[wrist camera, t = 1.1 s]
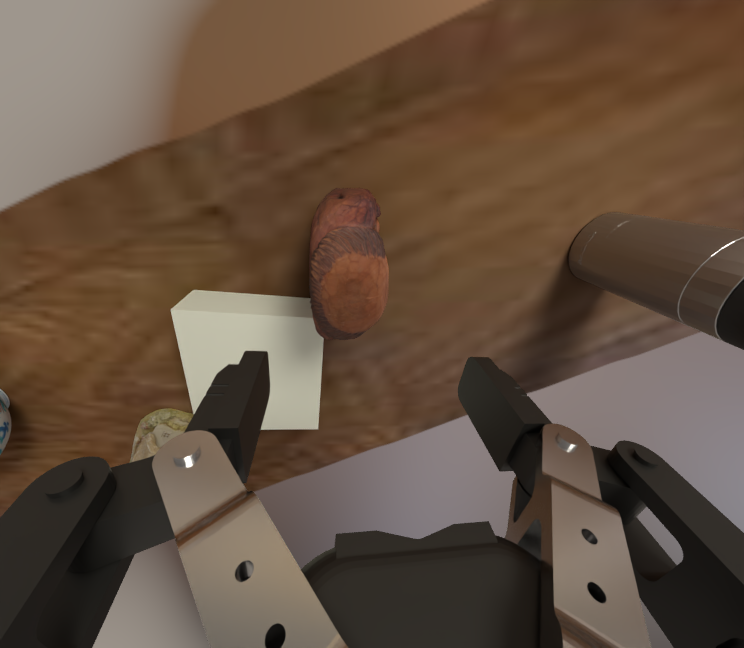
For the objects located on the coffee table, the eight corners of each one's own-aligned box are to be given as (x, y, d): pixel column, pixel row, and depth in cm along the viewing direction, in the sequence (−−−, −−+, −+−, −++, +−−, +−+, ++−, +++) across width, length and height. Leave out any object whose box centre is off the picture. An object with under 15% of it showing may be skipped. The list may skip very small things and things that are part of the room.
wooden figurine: (367, 285, 37) (394, 369, 21) (318, 284, 36) (308, 371, 20) (373, 185, 31) (416, 199, 16) (315, 181, 30) (299, 191, 15)
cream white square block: (325, 298, 37) (324, 318, 32) (319, 399, 46) (317, 429, 40) (194, 288, 35) (170, 309, 29) (213, 398, 43) (197, 430, 38)
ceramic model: (154, 395, 41) (106, 456, 32) (229, 422, 45) (205, 482, 37) (124, 452, 46) (75, 519, 37) (195, 471, 50) (166, 535, 41)
